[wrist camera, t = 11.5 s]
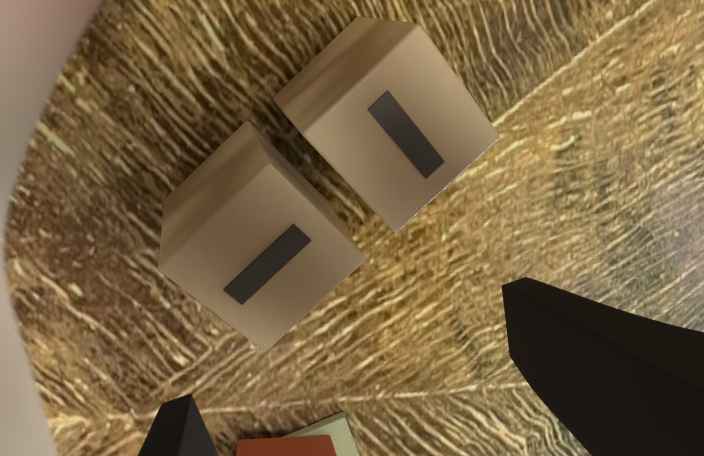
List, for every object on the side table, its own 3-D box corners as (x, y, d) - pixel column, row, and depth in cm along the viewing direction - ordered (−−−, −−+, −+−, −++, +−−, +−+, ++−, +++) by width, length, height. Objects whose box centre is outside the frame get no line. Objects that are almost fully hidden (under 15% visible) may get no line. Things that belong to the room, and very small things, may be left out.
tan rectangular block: (345, 178, 21) (396, 236, 16) (270, 98, 19) (302, 135, 14) (426, 103, 21) (503, 138, 16) (358, 15, 19) (421, 22, 14)
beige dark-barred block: (246, 270, 21) (265, 355, 16) (163, 199, 19) (156, 270, 14) (324, 197, 21) (368, 261, 16) (247, 119, 19) (270, 163, 14)
